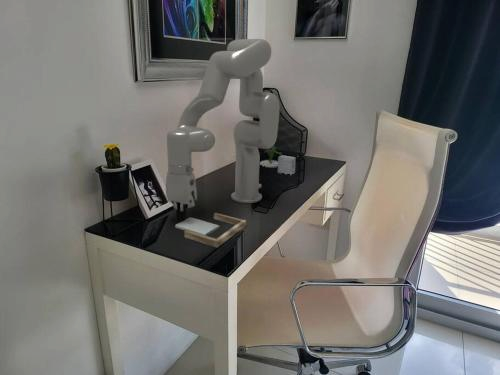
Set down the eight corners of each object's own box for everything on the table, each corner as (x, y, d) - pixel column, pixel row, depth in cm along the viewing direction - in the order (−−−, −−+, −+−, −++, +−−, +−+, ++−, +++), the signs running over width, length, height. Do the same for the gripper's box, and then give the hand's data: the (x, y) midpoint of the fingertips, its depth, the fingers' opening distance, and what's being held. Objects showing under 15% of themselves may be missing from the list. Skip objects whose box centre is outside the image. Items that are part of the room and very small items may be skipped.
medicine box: (294, 173, 176) (296, 157, 173) (291, 175, 172) (292, 159, 169) (281, 171, 180) (282, 154, 177) (277, 173, 176) (278, 156, 173)
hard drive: (220, 225, 114) (190, 216, 120) (205, 234, 107) (174, 224, 113) (220, 229, 115) (190, 220, 120) (205, 239, 108) (175, 229, 114)
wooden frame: (215, 217, 121) (215, 212, 121) (245, 226, 116) (246, 220, 115) (184, 237, 107) (184, 231, 106) (217, 247, 101) (217, 241, 101)
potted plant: (284, 163, 194) (286, 146, 190) (275, 168, 184) (276, 150, 180) (266, 160, 199) (266, 143, 196) (256, 165, 189) (256, 146, 186)
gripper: (205, 169, 111) (205, 221, 117) (170, 162, 118) (172, 211, 124) (190, 175, 105) (192, 229, 111) (154, 167, 112) (157, 218, 117)
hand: (181, 220), depth 117 cm, fingers closed
